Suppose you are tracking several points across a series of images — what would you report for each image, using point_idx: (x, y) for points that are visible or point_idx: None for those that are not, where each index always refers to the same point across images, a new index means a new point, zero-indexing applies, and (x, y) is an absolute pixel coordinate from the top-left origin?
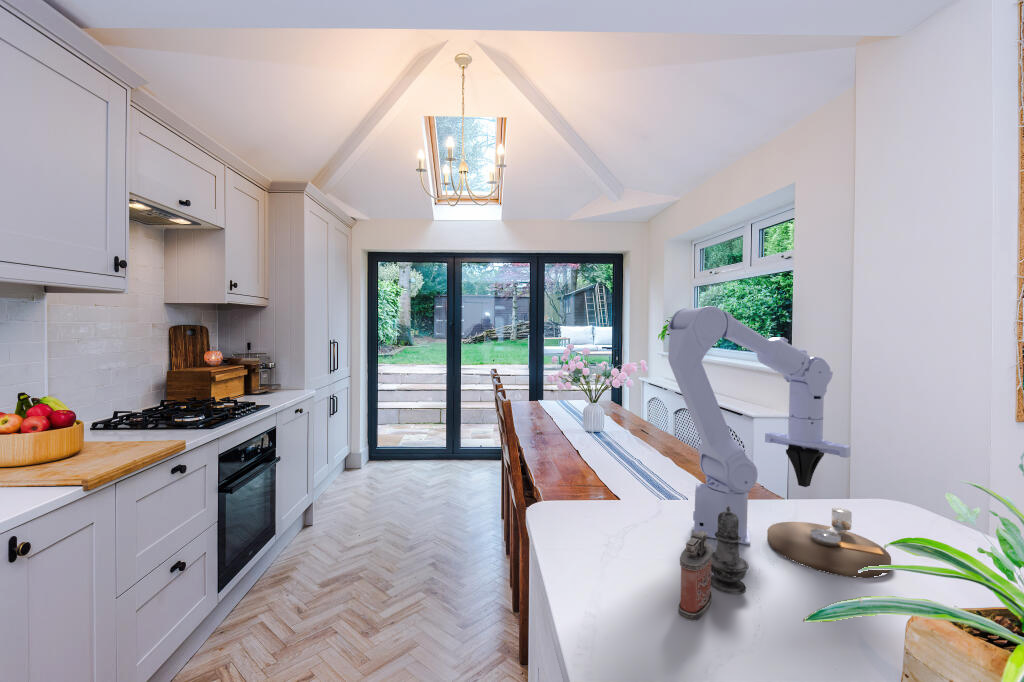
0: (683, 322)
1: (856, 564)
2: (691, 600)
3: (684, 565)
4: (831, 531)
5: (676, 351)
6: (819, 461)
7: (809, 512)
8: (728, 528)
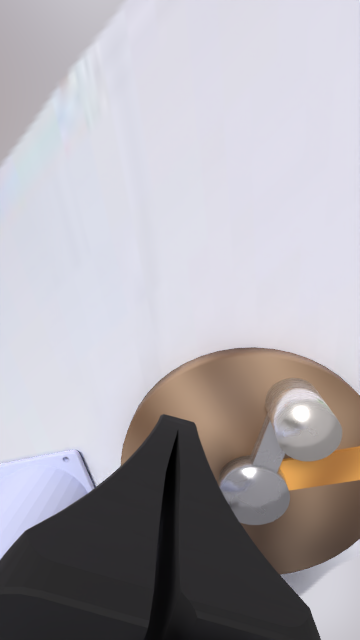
0: None
1: (312, 551)
2: None
3: None
4: (266, 461)
5: None
6: (255, 546)
7: (181, 171)
8: None
